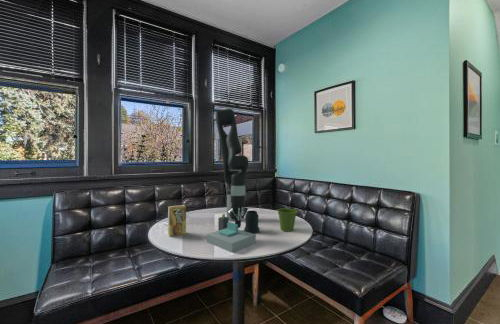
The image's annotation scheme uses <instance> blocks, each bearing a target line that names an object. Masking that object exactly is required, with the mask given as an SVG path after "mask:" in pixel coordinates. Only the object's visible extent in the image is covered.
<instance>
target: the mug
mask: <svg viewBox="0 0 500 324" xmlns="http://www.w3.org/2000/svg"><path fill="white" fill-rule="evenodd" d="M244 221H245V226H244V228H243V231H246V232H249V233H252V234H258V233H259V234H260V232H261V231H260V227H259V214H258V212H257V210H247V212H246V214H245V216H244Z"/></svg>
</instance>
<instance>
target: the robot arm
mask: <svg viewBox="0 0 500 324" xmlns="http://www.w3.org/2000/svg"><path fill="white" fill-rule="evenodd" d="M214 115H215V123H216V128H217V133H218V138H219V145H220V146H219V147H220V151H221V158H222V164H223V176H224V181H225V183H226V184H228V185H231V186H230V188H229V189H227V190H226V217H228V218H229V221H230V222H234V224H238V229H240V228H241V225H242V219H245V215H246V213H247V211H249V208H248V207H245V206H246V205H245V203H246V174H247V170H248V167H249V158H248V156H246V155H239V154H241V152H242V146H241V143H240V140H239V134H238V127H237V126H238V125H237V121H236V116H235V111H234V110H233V109H232V108H226V109H219V110H215V112H214ZM225 126H230V130H229V131H228V133H226V130H224V128H223V127H225ZM231 169H232V170H231Z"/></svg>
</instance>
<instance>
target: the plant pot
mask: <svg viewBox="0 0 500 324" xmlns="http://www.w3.org/2000/svg"><path fill="white" fill-rule="evenodd" d="M276 211H277V213H278V219H279V226H280V230H281V231H282V230H283V232H292V231H294V229H295V228H294V227H295V224H296V223H295V221H296V217H297V214H298V210H297V209H293V208H279V209H277V210H276Z"/></svg>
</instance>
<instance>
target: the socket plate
mask: <svg viewBox="0 0 500 324" xmlns="http://www.w3.org/2000/svg"><path fill="white" fill-rule="evenodd" d="M226 229H227V228H226ZM222 230H224V229H222ZM219 231H221V230H219ZM219 231H218V230H216V231H212V232H209V233H206V243H208V244H210V245H213V246H215V247H218V248H220V249H222V250H226V251H228V252H230V253H234V252H236V251H238V250H241V249H244V248H246V247H248V246H250V245H253V244H256V241H257V240H256V239H257V235H256V234H257V233H256V234H252V233H249V232H246V231H244V230H242V229H240V228H238V233H236V234H233V235H230V236H226V235H223V234H220V233H219Z"/></svg>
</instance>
